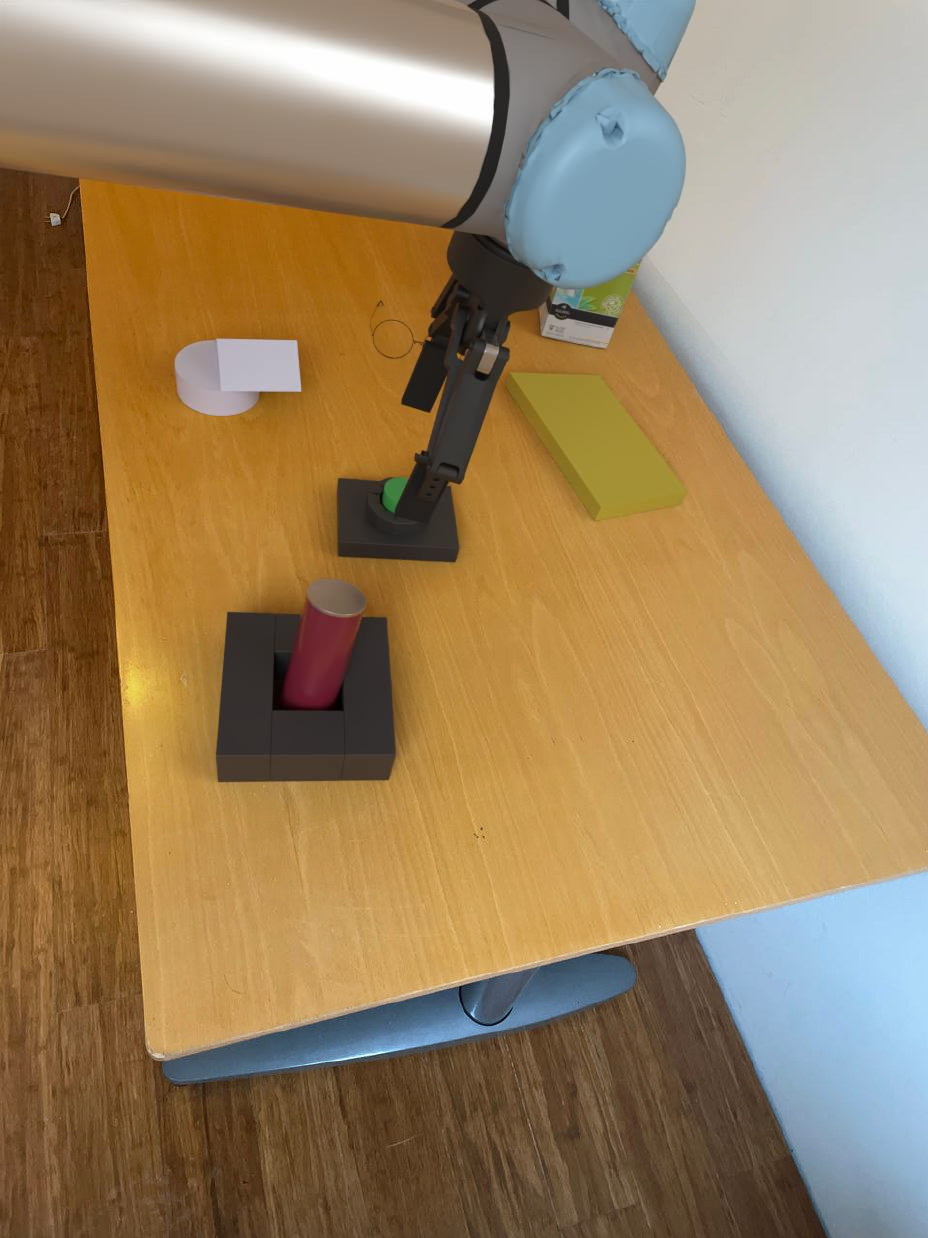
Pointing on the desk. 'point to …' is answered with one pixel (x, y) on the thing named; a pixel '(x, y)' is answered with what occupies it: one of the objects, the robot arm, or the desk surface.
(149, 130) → the robot arm
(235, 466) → the desk surface
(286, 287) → the desk surface
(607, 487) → the flat olive board
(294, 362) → the wedge on round base
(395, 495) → the button
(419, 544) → the panel
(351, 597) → the dark red cylinder
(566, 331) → the tea box
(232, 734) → the square peg hole block
